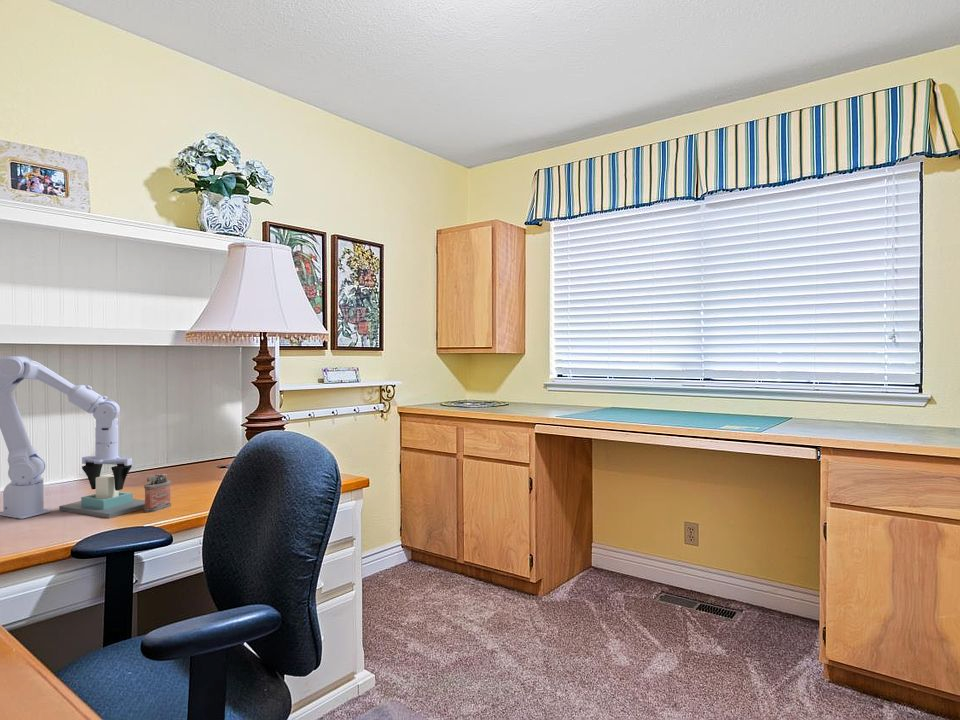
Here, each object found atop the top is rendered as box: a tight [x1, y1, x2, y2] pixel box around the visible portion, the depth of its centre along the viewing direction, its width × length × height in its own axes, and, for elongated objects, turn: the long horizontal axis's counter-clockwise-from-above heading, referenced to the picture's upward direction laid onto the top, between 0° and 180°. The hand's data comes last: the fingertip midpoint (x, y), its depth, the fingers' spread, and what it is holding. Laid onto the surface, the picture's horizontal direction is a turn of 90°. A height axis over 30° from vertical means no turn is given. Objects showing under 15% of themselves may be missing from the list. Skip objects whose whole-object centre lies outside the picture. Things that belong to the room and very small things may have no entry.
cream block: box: [95, 474, 120, 499], centre depth 173 cm, size 4×4×8 cm
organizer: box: [58, 491, 145, 519], centre depth 173 cm, size 20×14×4 cm
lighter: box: [143, 473, 172, 513], centre depth 173 cm, size 8×3×10 cm, turn 159°
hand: (107, 489), depth 173 cm, fingers open, 7 cm apart
